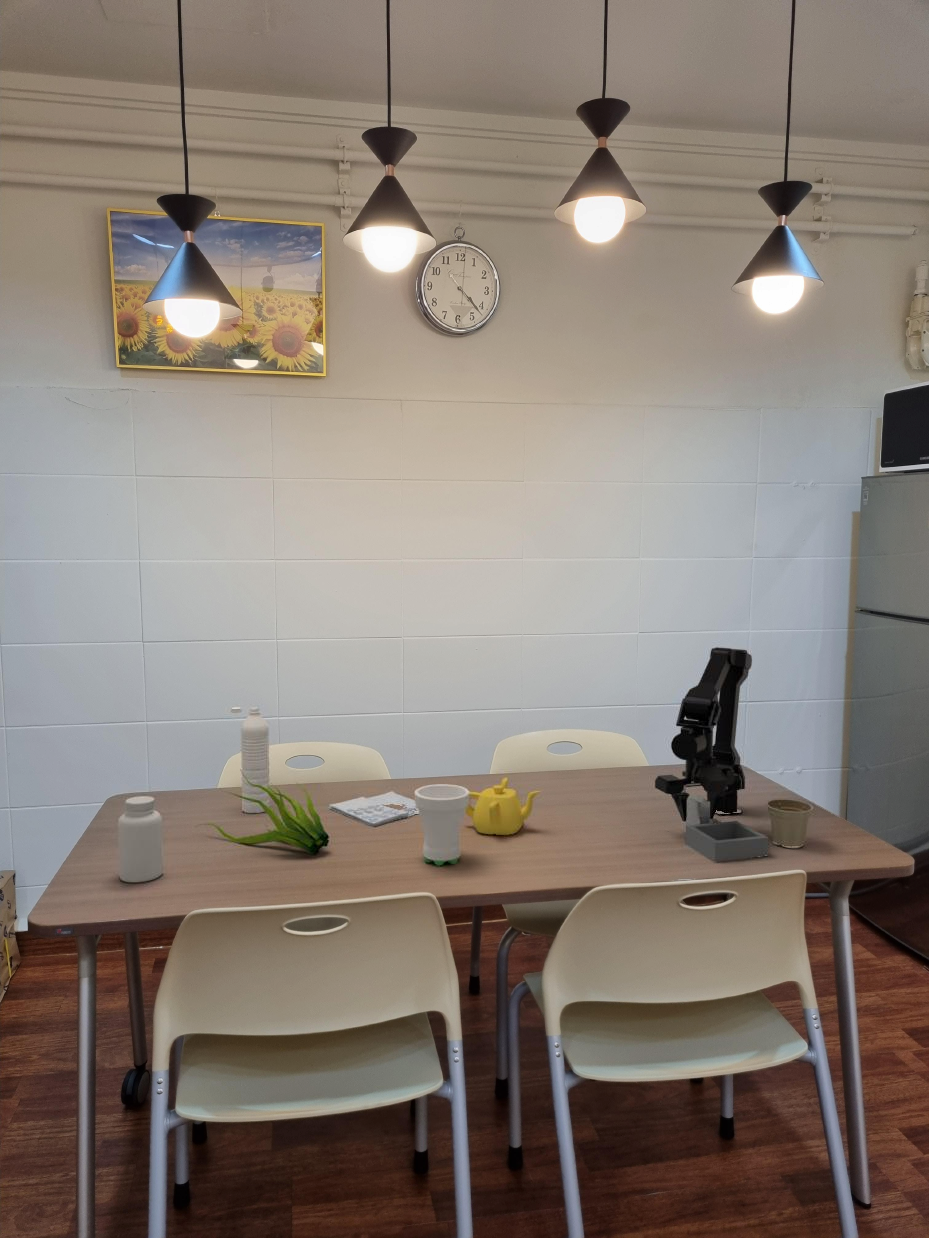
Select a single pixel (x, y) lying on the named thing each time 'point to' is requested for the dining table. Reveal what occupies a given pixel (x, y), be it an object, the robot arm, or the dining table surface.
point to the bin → (726, 841)
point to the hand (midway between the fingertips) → (697, 819)
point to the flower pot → (789, 821)
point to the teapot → (499, 810)
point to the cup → (442, 820)
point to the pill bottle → (140, 841)
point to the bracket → (698, 811)
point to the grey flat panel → (376, 808)
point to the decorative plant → (287, 824)
